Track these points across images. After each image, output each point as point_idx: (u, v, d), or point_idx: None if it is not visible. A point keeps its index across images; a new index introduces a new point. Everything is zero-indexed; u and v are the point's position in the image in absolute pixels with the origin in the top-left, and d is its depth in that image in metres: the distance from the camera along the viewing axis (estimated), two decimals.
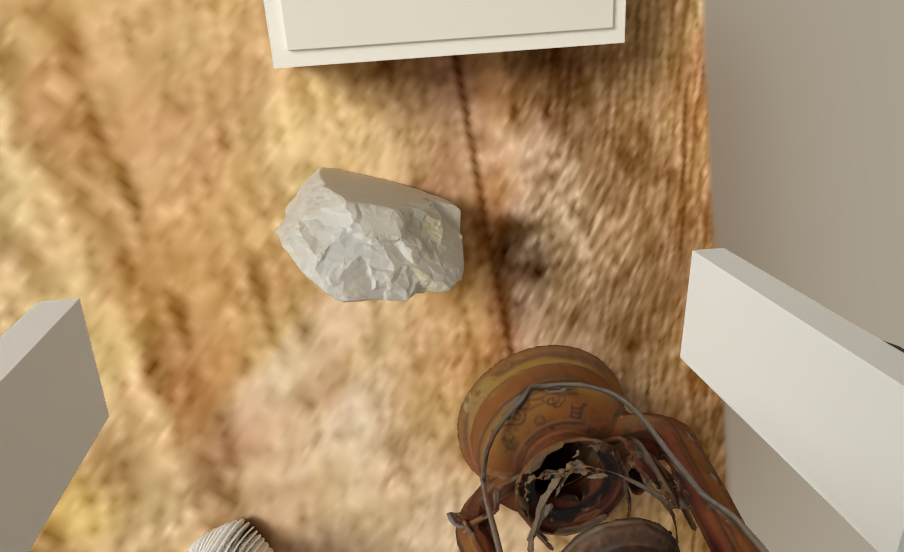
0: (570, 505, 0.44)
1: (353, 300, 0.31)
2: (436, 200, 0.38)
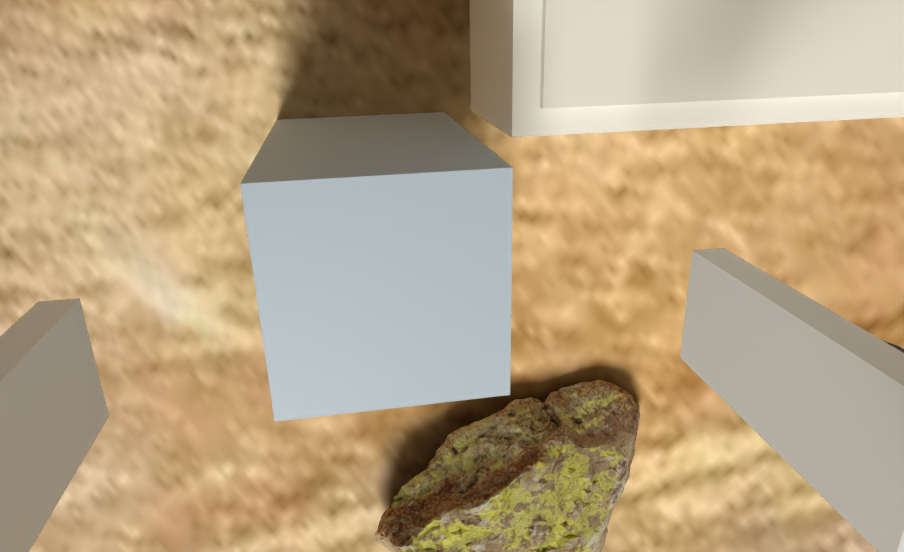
0: None
1: None
2: None
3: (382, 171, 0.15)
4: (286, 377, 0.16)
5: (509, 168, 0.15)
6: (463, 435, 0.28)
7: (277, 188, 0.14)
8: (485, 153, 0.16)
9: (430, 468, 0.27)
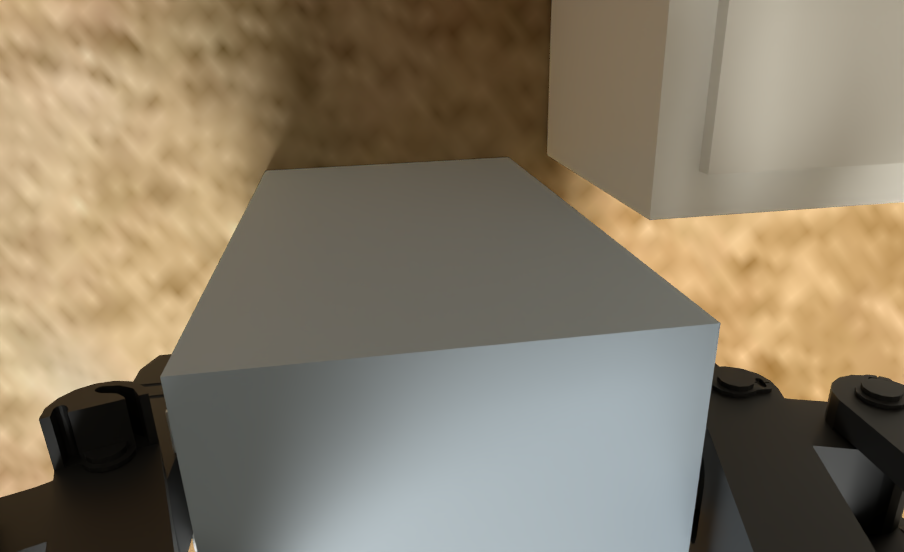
0: None
1: None
2: None
3: (457, 330, 0.07)
4: None
5: (714, 325, 0.07)
6: None
7: (241, 382, 0.07)
8: (634, 270, 0.09)
9: None
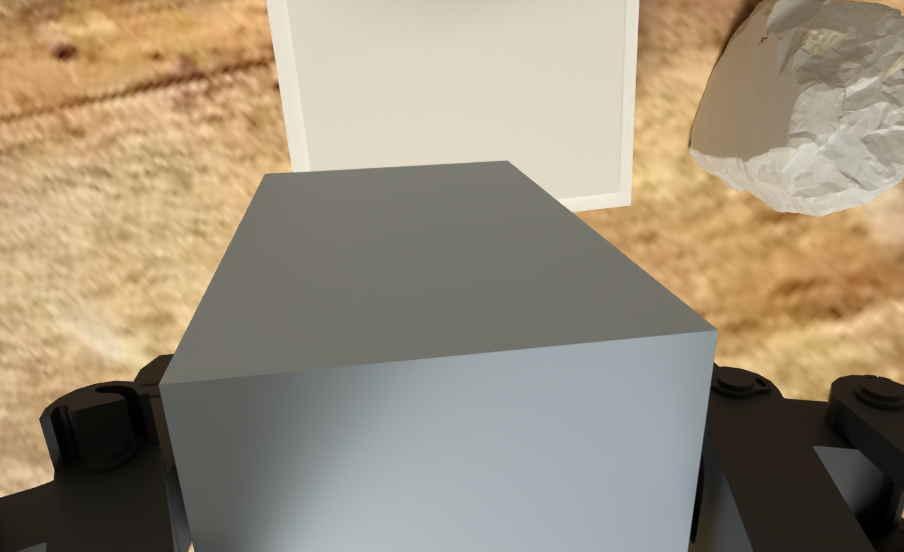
0: None
1: None
2: (764, 25, 0.33)
3: (454, 338, 0.07)
4: None
5: (712, 332, 0.07)
6: None
7: (240, 391, 0.07)
8: (632, 276, 0.09)
9: None
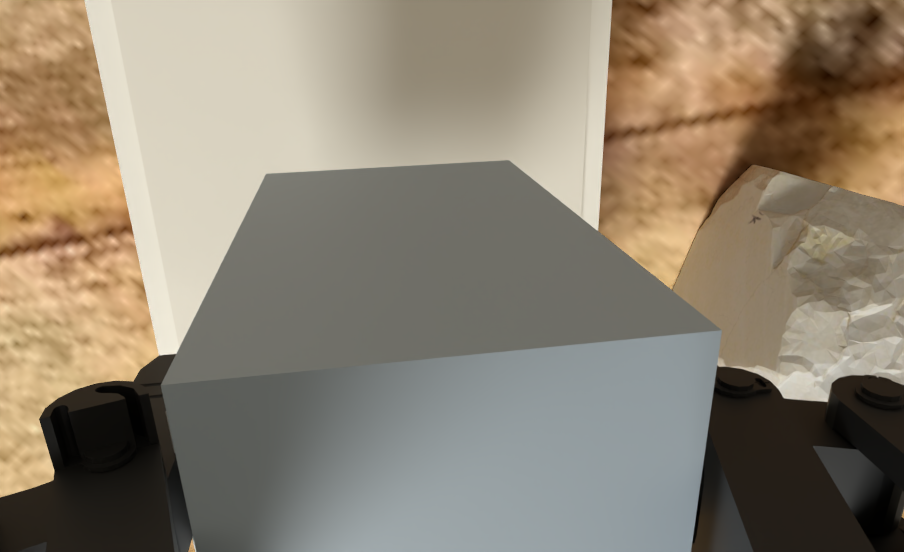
0: None
1: None
2: (757, 201, 0.28)
3: (457, 338, 0.07)
4: None
5: (716, 332, 0.07)
6: None
7: (243, 390, 0.07)
8: (635, 276, 0.09)
9: None
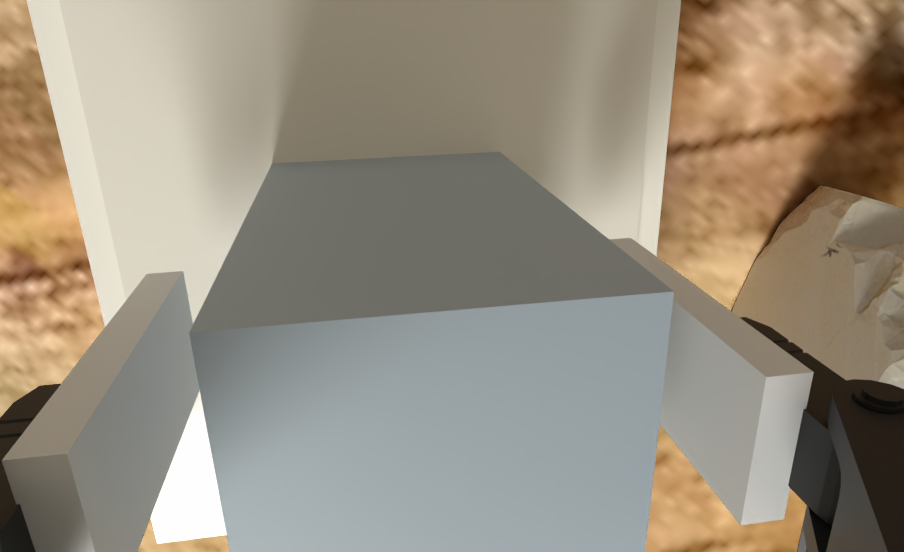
0: None
1: None
2: (833, 231, 0.24)
3: (444, 297, 0.08)
4: None
5: (669, 293, 0.08)
6: None
7: (259, 338, 0.08)
8: (605, 249, 0.10)
9: None
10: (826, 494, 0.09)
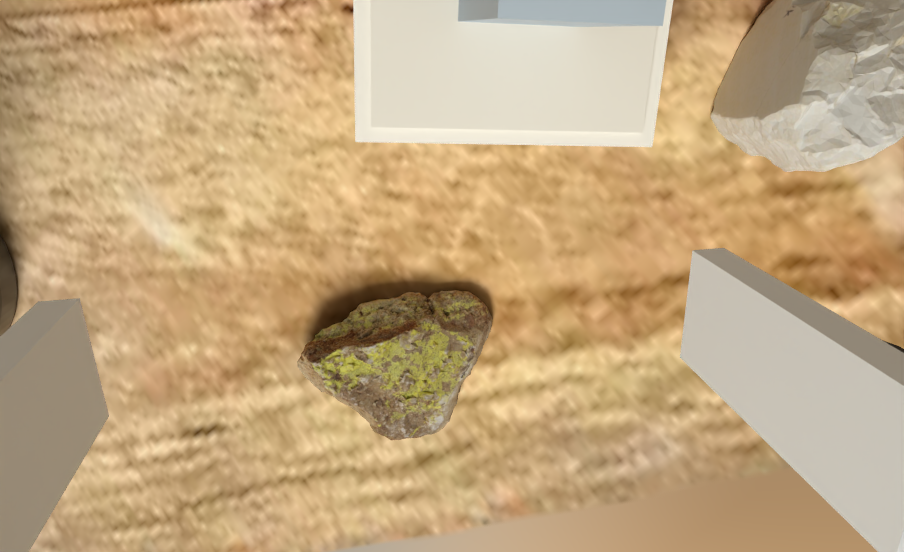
0: None
1: None
2: (791, 0, 0.36)
3: None
4: None
5: None
6: (369, 305, 0.42)
7: None
8: None
9: (343, 322, 0.41)
10: None
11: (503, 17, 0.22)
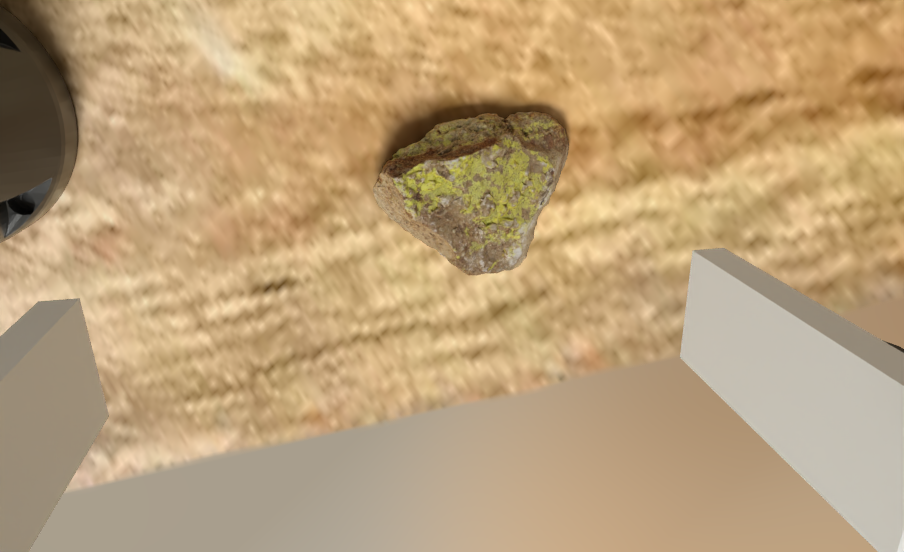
0: None
1: None
2: None
3: None
4: None
5: None
6: (446, 124, 0.40)
7: None
8: None
9: (420, 141, 0.40)
10: None
11: None
